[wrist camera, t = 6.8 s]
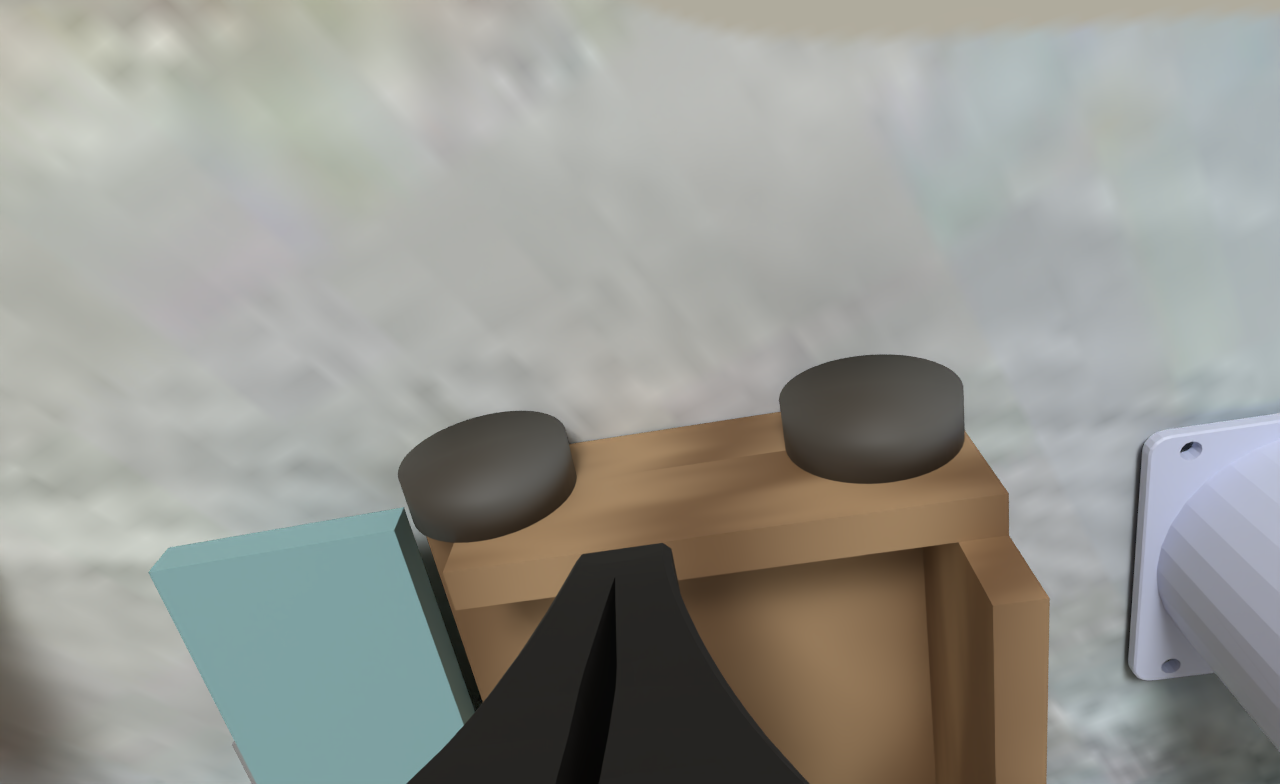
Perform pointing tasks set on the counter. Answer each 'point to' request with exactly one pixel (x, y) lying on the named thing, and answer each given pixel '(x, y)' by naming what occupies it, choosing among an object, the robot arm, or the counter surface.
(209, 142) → the counter surface
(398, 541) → the tailgate
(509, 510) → the cart
